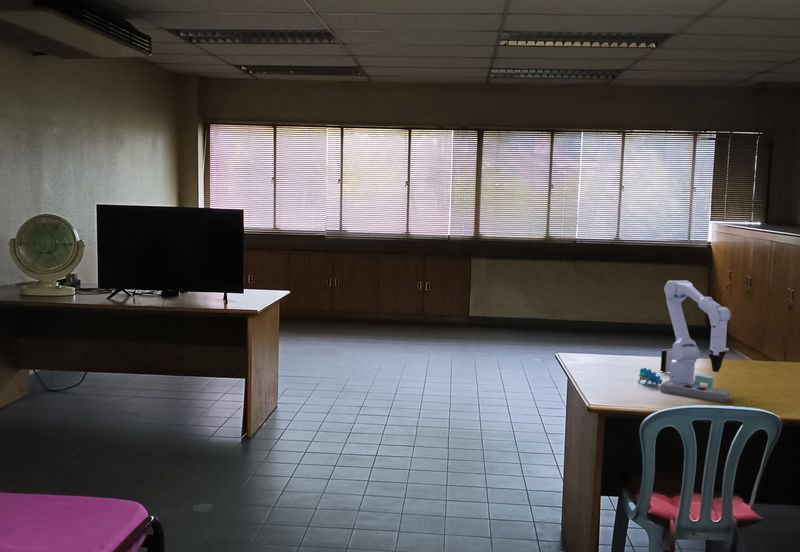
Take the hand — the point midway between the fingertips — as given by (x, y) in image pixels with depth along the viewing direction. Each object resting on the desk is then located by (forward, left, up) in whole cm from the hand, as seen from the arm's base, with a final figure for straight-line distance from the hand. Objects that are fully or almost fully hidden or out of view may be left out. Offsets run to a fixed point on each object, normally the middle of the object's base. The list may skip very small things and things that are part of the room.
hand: (716, 370), depth 278 cm
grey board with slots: (-5, -12, -9) cm, 16 cm away
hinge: (-25, +27, -9) cm, 38 cm away
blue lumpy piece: (-24, -7, -9) cm, 27 cm away
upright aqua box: (-4, -1, -9) cm, 10 cm away
